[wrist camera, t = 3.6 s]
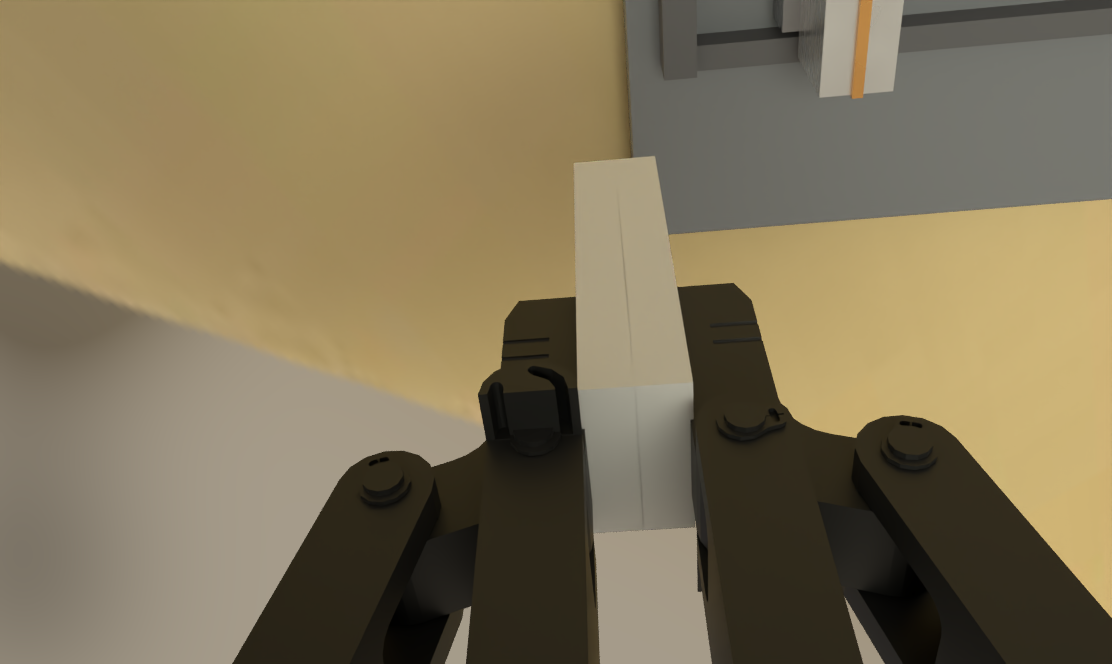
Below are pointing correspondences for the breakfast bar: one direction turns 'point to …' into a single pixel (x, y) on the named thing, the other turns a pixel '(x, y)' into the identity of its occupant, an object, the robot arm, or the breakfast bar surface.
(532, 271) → the breakfast bar surface
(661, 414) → the robot arm
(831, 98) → the console
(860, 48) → the fader
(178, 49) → the breakfast bar surface
